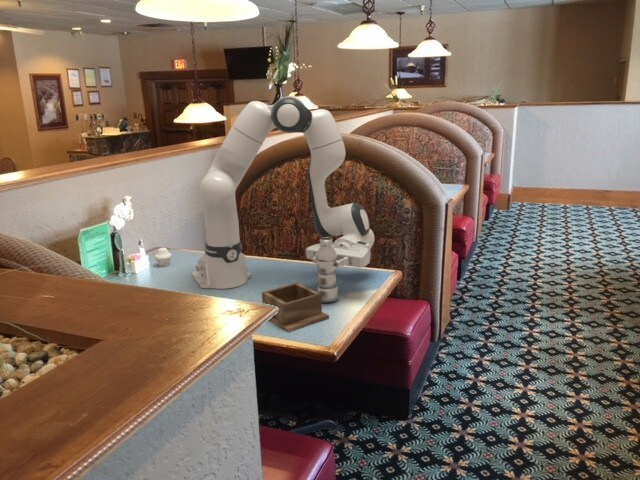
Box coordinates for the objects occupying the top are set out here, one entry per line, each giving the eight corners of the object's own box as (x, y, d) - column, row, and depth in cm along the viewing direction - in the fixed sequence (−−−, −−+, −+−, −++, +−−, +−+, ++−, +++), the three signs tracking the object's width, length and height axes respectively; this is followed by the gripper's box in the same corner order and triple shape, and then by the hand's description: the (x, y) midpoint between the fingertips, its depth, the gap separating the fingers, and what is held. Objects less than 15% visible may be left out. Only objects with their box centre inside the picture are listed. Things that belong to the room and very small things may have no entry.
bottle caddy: (256, 312, 162) (255, 290, 160) (295, 300, 170) (295, 279, 168) (288, 332, 149) (287, 308, 147) (328, 318, 156) (328, 295, 154)
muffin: (172, 261, 210) (170, 244, 208) (172, 266, 205) (170, 249, 203) (155, 263, 209) (153, 246, 207) (155, 268, 203) (153, 250, 201)
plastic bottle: (337, 305, 165) (336, 242, 160) (315, 304, 166) (313, 241, 161) (339, 297, 172) (338, 236, 166) (318, 296, 172) (316, 235, 167)
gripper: (317, 236, 180) (296, 248, 169) (374, 244, 171) (355, 257, 159) (317, 254, 182) (296, 267, 170) (374, 263, 173) (355, 277, 161)
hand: (325, 262), depth 165 cm, fingers closed on plastic bottle, 6 cm apart
